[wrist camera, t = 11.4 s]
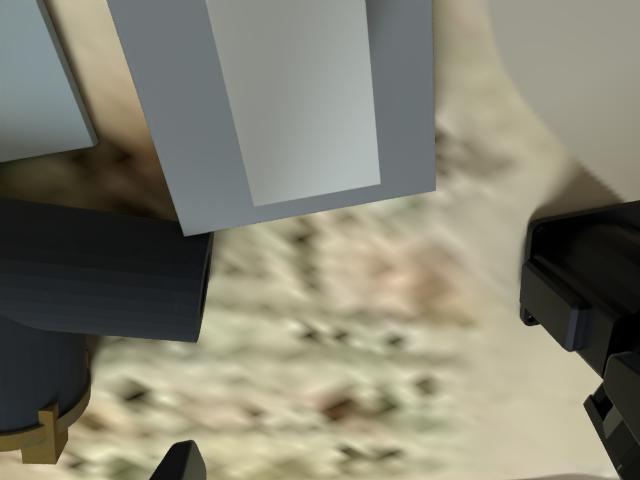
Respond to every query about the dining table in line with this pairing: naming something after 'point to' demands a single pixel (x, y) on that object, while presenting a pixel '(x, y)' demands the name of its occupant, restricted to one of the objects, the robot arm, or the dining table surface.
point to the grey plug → (299, 94)
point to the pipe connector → (83, 307)
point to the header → (218, 125)
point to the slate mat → (37, 87)
